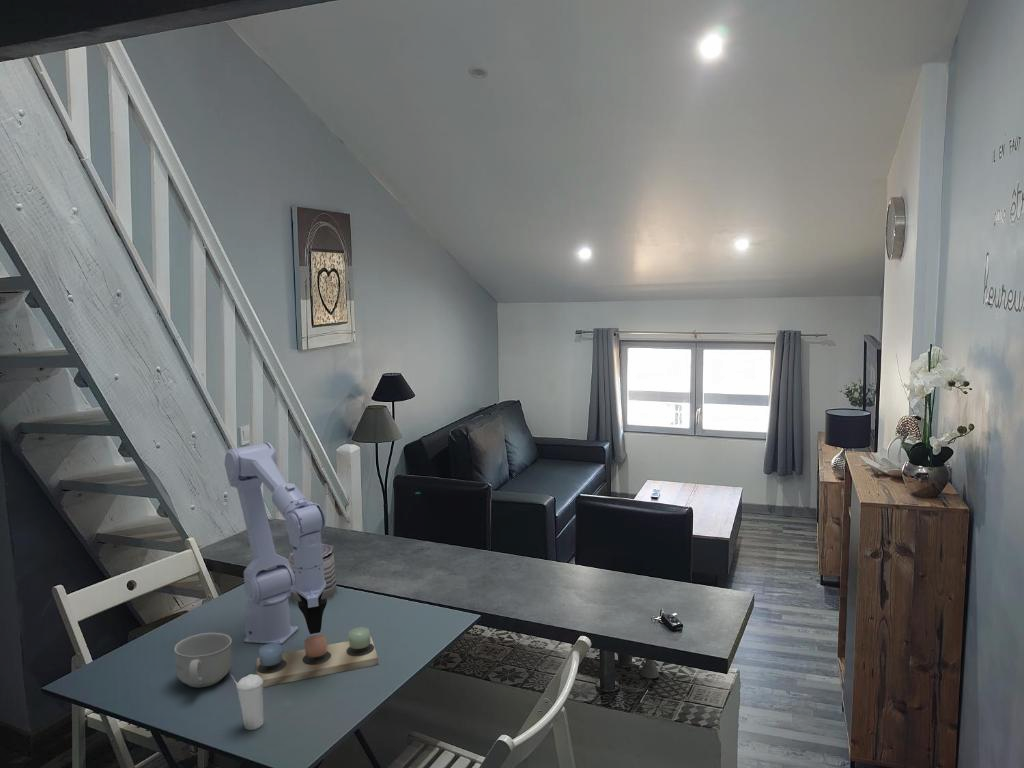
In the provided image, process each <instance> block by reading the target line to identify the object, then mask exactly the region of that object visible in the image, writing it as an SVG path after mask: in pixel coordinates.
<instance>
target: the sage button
mask: <svg viewBox="0 0 1024 768" xmlns="http://www.w3.org/2000/svg"><path fill="white" fill-rule="evenodd" d="M370 637H371V633H370V628H368V627H364V626H359V627H354V628H352V629H350V630H349V631H348V641H349V646H350V647H351V648H353V649H361V648H365V647H367V646H368V645H369V644H370Z"/></svg>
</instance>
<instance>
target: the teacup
mask: <svg viewBox="0 0 1024 768" xmlns="http://www.w3.org/2000/svg"><path fill="white" fill-rule="evenodd" d="M232 640H233V639H232V638H231V636H230V635H228V634H226V633H221V632H204V633H203V632H202V633H198V634H195V635H191V636H188V637H186V638H183V639H181V640H180V641H179V642H177V643H176V644H175V645H174V647H173V651H174V658H175V659H174V661H175V662H174V663H175V664H174V665H175V669H176V670H175V671H176V676H177V678H178V680H180V682H182V683H184V684H186V685H187V686H189V687H191V688H206V687H210V686H213V685H215V684H217V683H219V682H220V681H221V680H222V679H223V678H224V677H225V676H226V675H227V674H228V673H229V671H230V669H231V666H232V652H233V651H232V644H233V641H232Z"/></svg>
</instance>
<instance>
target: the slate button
mask: <svg viewBox="0 0 1024 768" xmlns="http://www.w3.org/2000/svg"><path fill="white" fill-rule="evenodd" d="M282 653H283V649H282V644H279V643H270V644H268V643H265V644H264V645H261V646H260V647H259V649H258V656H259V657H258V658H260V664H261V665H263V666H272V665H275V664H278V663H279V662H281V661H282Z"/></svg>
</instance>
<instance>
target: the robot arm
mask: <svg viewBox="0 0 1024 768" xmlns="http://www.w3.org/2000/svg"><path fill="white" fill-rule="evenodd" d="M277 460H278V459H277V451H276V449H275V447H274V446H273V445H272V444H271V443H270V442H268V441H266V442H263V443H260V444H253V445H248V446H244V447H237V448H229V449H228V450H227V452H226V453H225V456H224V466H225V472H226V476H227V480H228V483H229V487H232V488H234V489H235V488H236V490H237V493H238V497H239V502H240V506H241V511H242V515H243V519H244V524H245V528H246V532H247V537H248V540H249V546H250V550H251V554H252V560H251V561H250V562H249V564H248V565H247V566H246V567H245V568H244V571H243V579H244V580H243V581H244V586H243V587H244V592H245V596H246V598H247V599H248V600H247V601H246V602H245V605H244V609H243V620H244V621H243V624H244V630H245V631H244V632H245V638H244V639H243V641H244V643H252V644H253V643H254V644H270V643H279V644H281V645H283V644H284V643H285V642H286V641H287V640H288V639H289V638H290V637H291V636H293V635H294V634H295V632H296V631H298V630H299V626H297V625H296V626H295V625H291V616H290V614H291V613H290V605H289V597H292V594H291V592H297V594H298V595H299V597H300V598H301V600H302V601H299V602H298V604H297V605H298V606H297V607H298V609H299V611H301V613H302V614H303V617H304V619H305V622H306V626H307V629H308V633H309V634H310V635H314V634H315V635H316V634H318V633H321V631H322V624H323V623H322V622H323V615H324V611H325V608H326V607H327V604H328V601H327V599H321V597H322V593H323V591H324V589H325V587H326V582H325V579H324V568H323V555H322V544H323V543H322V535H321V534H322V533H321V532H322V531H324V530H325V528H326V516H325V513H324V510H323V508H322V507H321V505H320V503H319V504H318V503H314V502H313V501H309V500H308V499H307V498H306V497H305V495H304V494H303V493H302V492H301V490H300V489H299V488H298V487H297V485H296V484H294V483H291V482H287V481H286V479H285V476H283V474H282V472H281V470H280V469H279V467H278V466H277V465H278V464H277V462H278V461H277ZM262 483H263V485H265V487H267V489H268V490H269V491H270V492H271V493H272V494H271V495H272V496H271V501H272V503H273V504H274V507H276V509H277V510H278V512H279V513H280V514H281V515H282V517H283V518H284V519H285V521H284V525H285V529H286V532H287V535H288V540H289V543H290V545H291V546H292V552H293V555H294V567H295V576H294V573H293V571H292V569H291V567H290V564H289V561H288V558H286V557H284V556H282V555H279V554H277V552H276V548H275V544H274V540H273V535H272V532H271V527H270V523H269V519H268V518H269V517H268V514H267V510H266V506H265V501H264V497H263V493H262V488H261V486H262ZM273 567H275V568H273ZM271 568H272V569H271ZM266 569H268V570H266ZM295 578H296V585H295Z"/></svg>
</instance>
